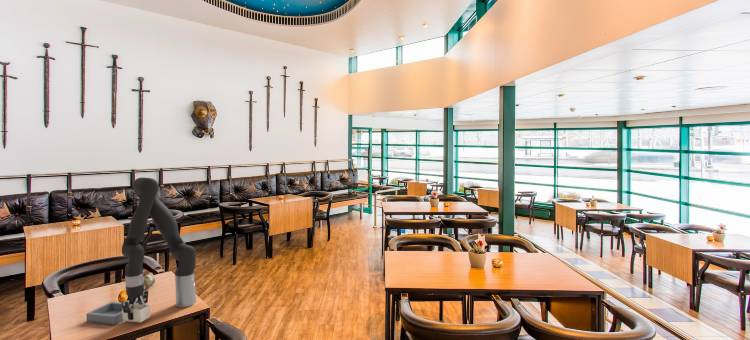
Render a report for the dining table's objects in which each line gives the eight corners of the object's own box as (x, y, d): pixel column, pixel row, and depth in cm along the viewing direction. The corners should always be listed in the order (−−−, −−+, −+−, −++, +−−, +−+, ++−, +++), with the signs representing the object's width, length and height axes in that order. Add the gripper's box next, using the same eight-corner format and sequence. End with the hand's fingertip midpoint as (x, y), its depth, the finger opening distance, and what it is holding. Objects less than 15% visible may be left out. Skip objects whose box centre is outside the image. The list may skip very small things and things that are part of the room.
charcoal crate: (111, 309, 194) (111, 301, 194) (138, 312, 192) (137, 304, 191) (86, 322, 181) (86, 313, 180) (114, 325, 178) (114, 316, 178)
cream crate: (132, 314, 185) (132, 303, 185) (150, 316, 184) (149, 305, 183) (122, 320, 180) (122, 308, 179) (140, 322, 178) (140, 310, 177)
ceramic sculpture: (159, 270, 230) (144, 280, 215) (160, 283, 231) (146, 294, 216) (142, 269, 230) (126, 280, 215) (143, 283, 231) (128, 294, 216)
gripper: (129, 289, 172) (131, 324, 174) (152, 278, 187) (154, 310, 188) (115, 288, 174) (117, 322, 175) (139, 277, 188) (141, 309, 189)
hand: (136, 316), depth 182 cm, fingers closed on cream crate, 6 cm apart
